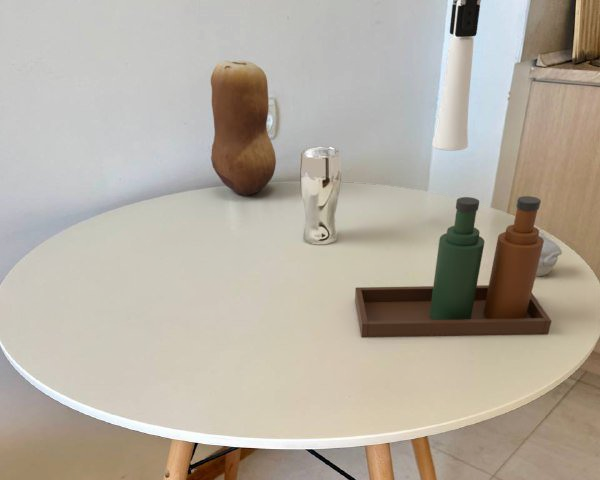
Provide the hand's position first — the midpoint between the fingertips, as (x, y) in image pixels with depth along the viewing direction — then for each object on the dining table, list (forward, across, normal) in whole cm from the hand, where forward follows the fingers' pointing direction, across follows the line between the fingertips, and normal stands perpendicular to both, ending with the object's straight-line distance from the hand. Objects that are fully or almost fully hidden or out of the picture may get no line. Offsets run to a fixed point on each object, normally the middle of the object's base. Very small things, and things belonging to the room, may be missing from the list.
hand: (462, 33), depth 92 cm
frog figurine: (+32, -21, -10) cm, 39 cm away
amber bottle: (+31, -35, -2) cm, 47 cm away
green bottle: (+30, -35, +6) cm, 47 cm away
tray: (+31, -35, +6) cm, 48 cm away
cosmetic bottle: (+17, 0, 0) cm, 17 cm away
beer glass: (+31, -4, +23) cm, 39 cm away
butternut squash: (+30, +23, +38) cm, 54 cm away
